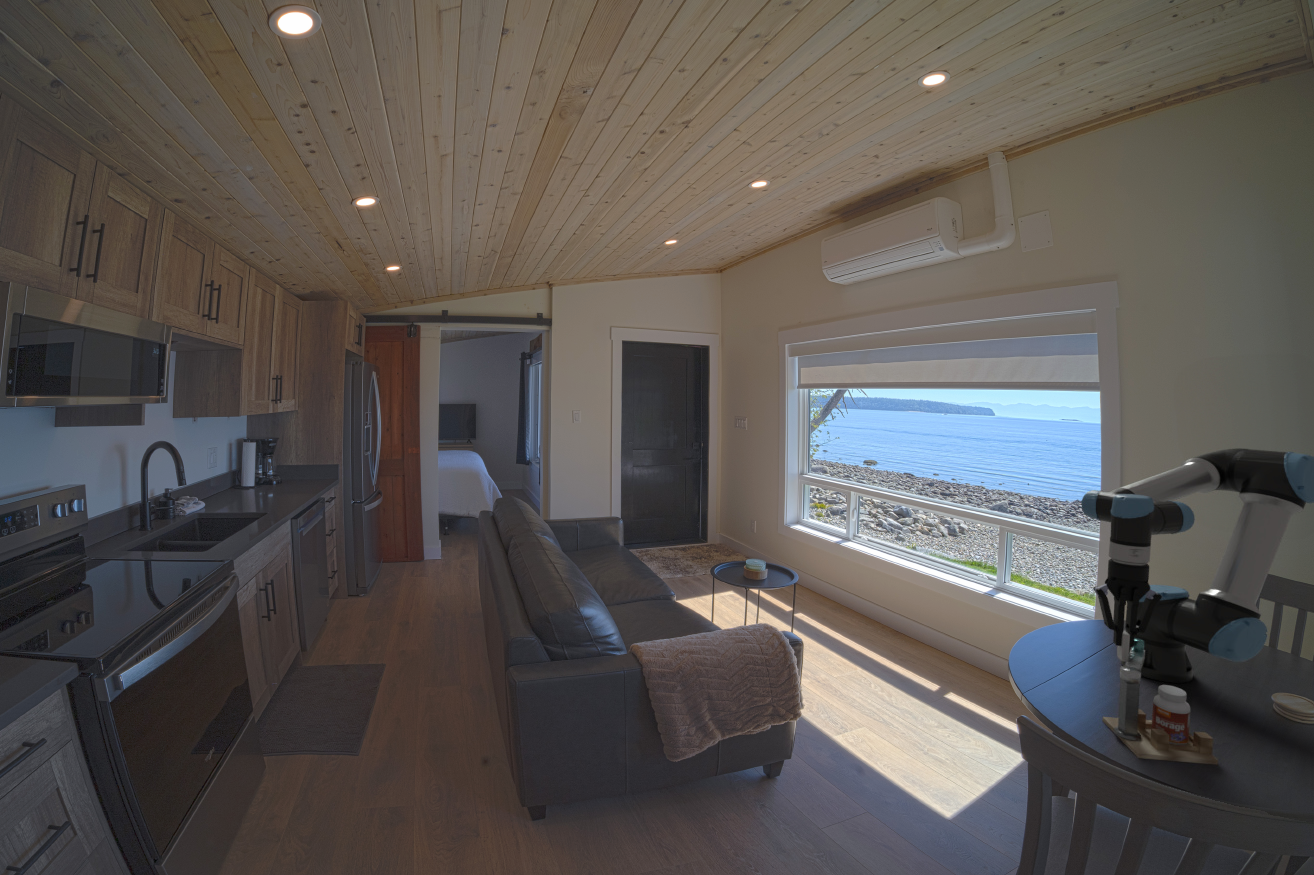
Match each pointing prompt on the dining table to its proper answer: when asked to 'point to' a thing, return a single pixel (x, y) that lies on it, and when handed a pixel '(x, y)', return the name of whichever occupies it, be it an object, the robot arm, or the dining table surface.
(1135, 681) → the keeper bar
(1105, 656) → the dining table surface
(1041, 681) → the dining table surface
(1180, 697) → the pill bottle
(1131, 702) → the post
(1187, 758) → the socket board
